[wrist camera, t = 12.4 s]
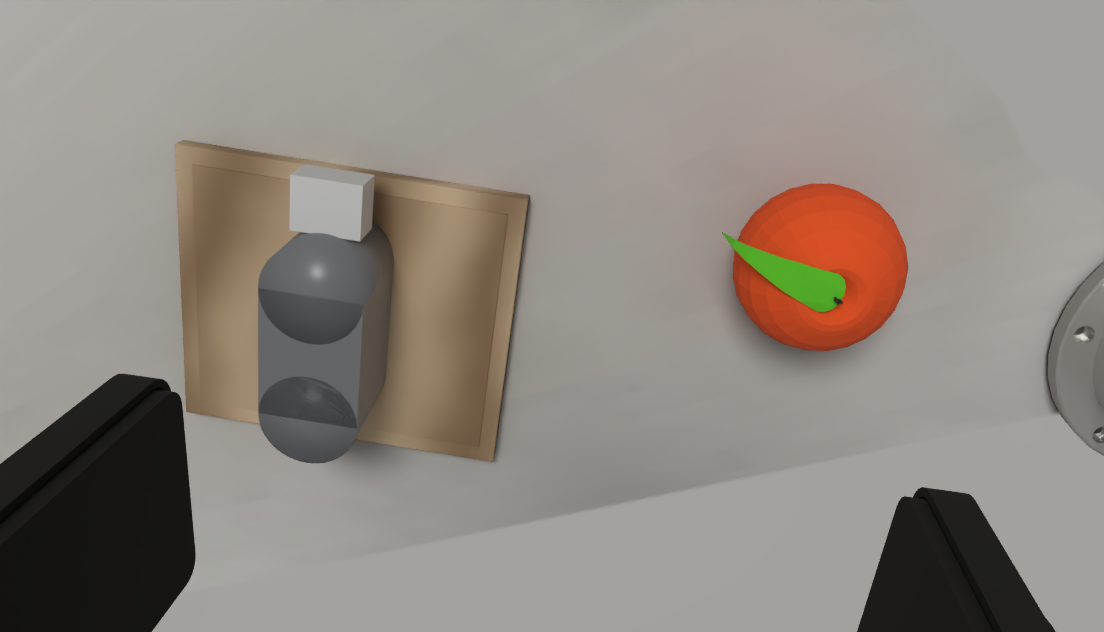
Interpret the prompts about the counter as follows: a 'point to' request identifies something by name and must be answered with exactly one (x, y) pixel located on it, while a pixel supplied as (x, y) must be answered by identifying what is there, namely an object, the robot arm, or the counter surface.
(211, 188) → the board
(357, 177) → the usb stick
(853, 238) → the clementine
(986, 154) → the counter surface
